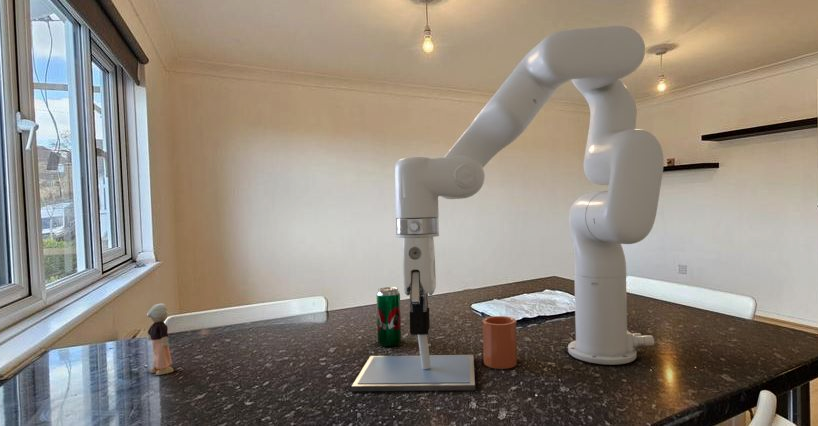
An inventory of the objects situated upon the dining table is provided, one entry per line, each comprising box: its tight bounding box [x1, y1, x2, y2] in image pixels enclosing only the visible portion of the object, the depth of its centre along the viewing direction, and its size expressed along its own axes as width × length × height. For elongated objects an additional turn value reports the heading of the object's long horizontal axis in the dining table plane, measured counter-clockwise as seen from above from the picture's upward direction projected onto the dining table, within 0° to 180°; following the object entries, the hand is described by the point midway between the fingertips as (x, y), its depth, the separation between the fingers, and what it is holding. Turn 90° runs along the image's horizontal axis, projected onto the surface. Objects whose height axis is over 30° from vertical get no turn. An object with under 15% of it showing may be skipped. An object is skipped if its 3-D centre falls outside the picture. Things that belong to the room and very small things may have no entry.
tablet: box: [351, 354, 476, 393], centre depth 76 cm, size 20×14×1 cm
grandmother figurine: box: [145, 303, 175, 376], centre depth 81 cm, size 8×4×13 cm, turn 65°
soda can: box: [376, 286, 402, 348], centre depth 93 cm, size 5×5×12 cm
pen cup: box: [482, 315, 518, 370], centre depth 80 cm, size 6×6×8 cm
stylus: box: [417, 334, 431, 369], centre depth 76 cm, size 2×2×12 cm
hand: (420, 331), depth 76 cm, fingers closed on stylus, 1 cm apart
